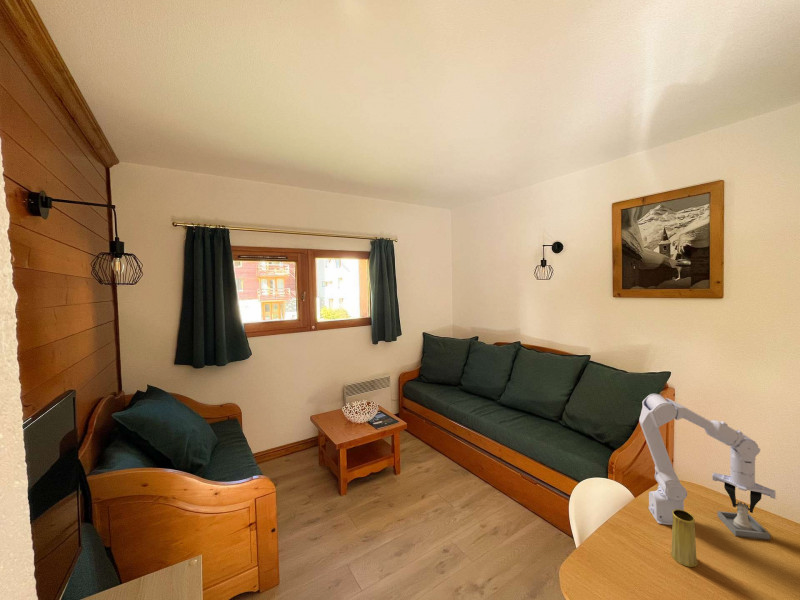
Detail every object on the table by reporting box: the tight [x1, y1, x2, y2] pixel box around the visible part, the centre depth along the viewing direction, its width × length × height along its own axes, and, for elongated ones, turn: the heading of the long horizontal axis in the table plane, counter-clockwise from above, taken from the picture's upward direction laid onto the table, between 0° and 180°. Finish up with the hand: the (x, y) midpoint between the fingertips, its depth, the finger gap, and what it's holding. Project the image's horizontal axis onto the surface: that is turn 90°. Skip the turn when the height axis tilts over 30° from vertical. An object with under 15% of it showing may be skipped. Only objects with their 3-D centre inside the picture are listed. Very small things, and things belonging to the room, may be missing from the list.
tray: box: [717, 510, 771, 541], centre depth 111 cm, size 9×9×2 cm
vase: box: [670, 509, 698, 568], centre depth 101 cm, size 6×6×14 cm
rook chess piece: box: [733, 501, 752, 531], centre depth 110 cm, size 4×4×8 cm
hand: (742, 508), depth 110 cm, fingers open, 3 cm apart
